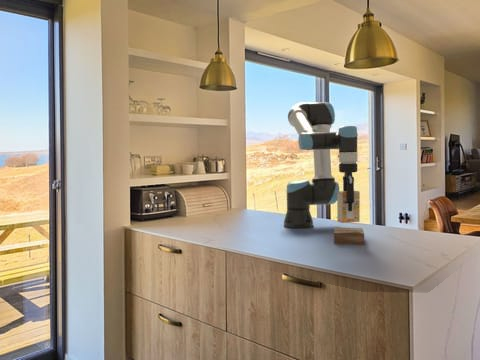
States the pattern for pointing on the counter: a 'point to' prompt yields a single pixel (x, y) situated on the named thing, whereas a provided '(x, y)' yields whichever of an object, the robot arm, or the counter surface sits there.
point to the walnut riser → (349, 236)
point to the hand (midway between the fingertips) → (348, 217)
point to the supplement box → (342, 207)
